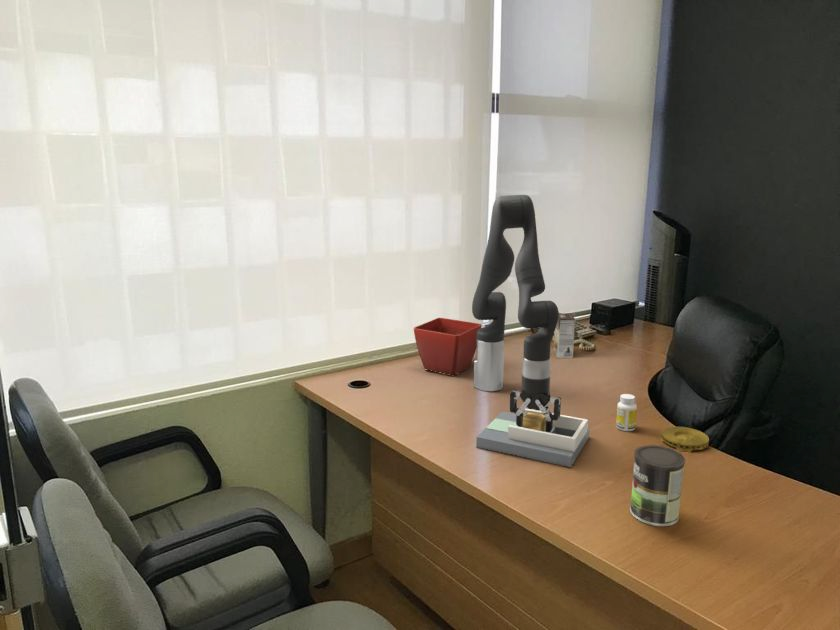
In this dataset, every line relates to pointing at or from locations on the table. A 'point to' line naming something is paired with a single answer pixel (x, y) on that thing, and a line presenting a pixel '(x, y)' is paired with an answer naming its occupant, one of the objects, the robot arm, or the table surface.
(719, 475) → the table surface
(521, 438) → the walled pit deck
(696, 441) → the gold flat disc
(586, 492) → the table surface
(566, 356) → the coffee box
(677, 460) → the coffee can
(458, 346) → the plant pot
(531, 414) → the mustard block
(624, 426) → the supplement bottle
